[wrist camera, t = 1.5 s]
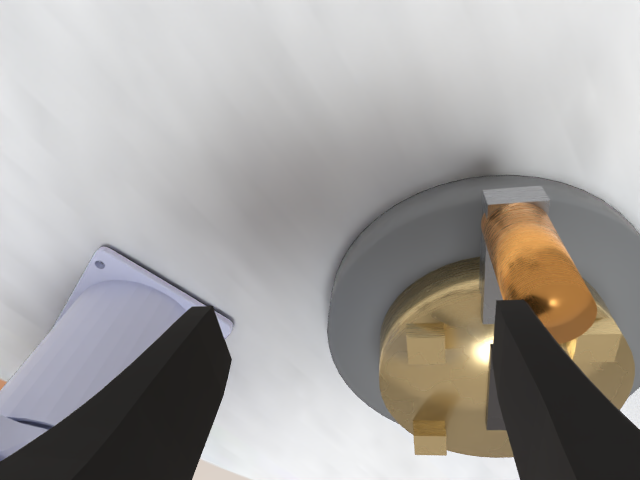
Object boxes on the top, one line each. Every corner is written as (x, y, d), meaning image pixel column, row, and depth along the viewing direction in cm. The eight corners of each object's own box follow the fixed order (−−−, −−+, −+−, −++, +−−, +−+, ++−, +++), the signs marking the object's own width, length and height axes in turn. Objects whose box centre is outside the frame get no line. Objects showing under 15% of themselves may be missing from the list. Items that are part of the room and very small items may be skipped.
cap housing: (476, 443, 29) (482, 474, 27) (275, 319, 25) (267, 347, 24) (726, 305, 21) (754, 337, 20) (491, 100, 18) (502, 118, 16)
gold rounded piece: (591, 414, 23) (657, 572, 18) (388, 413, 25) (387, 556, 19) (655, 150, 16) (805, 274, 10) (360, 175, 18) (347, 292, 12)
